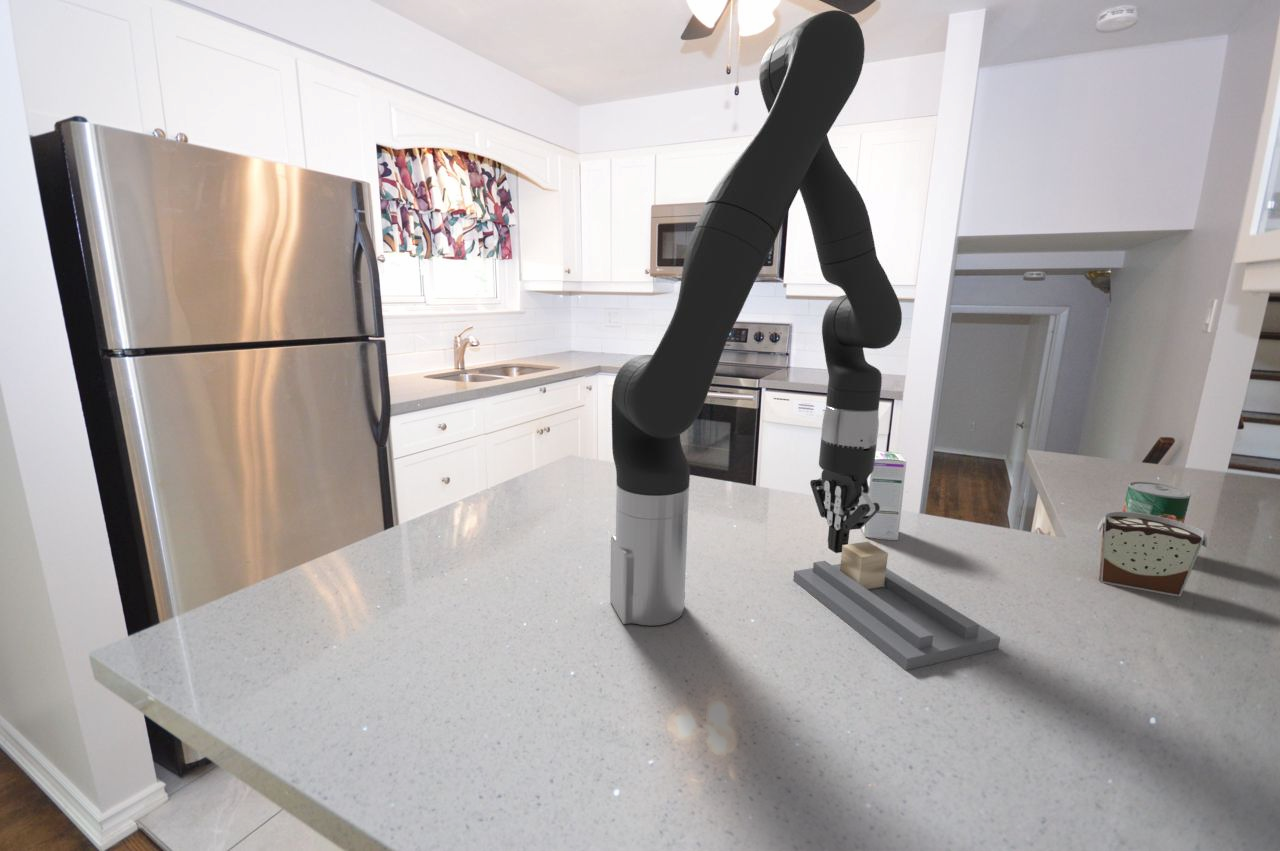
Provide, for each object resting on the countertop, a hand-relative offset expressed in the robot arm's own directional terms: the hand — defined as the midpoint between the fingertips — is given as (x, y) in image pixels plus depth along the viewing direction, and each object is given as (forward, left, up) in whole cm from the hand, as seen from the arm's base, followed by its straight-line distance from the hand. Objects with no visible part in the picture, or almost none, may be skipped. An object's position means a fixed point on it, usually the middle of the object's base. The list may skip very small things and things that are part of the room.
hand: (837, 550), depth 86 cm
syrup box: (+18, +11, -4) cm, 22 cm away
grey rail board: (0, -11, -4) cm, 11 cm away
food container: (+43, -15, -4) cm, 46 cm away
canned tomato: (+58, -8, -4) cm, 59 cm away
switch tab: (0, -6, -2) cm, 6 cm away
